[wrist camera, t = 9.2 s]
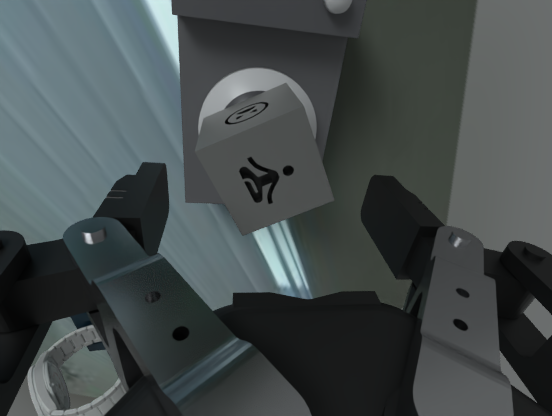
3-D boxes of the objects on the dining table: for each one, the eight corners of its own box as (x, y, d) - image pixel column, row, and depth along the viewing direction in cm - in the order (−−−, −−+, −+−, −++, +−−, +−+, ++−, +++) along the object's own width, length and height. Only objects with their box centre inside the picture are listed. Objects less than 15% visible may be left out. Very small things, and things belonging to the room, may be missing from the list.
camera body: (187, -47, 18) (165, -76, 12) (334, -23, 20) (379, -39, 14) (193, 171, 25) (181, 220, 19) (300, 176, 27) (320, 224, 21)
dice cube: (203, 118, 17) (194, 151, 13) (286, 82, 17) (303, 105, 13) (240, 189, 20) (242, 235, 16) (312, 160, 20) (334, 200, 16)
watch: (62, 290, 31) (-12, 411, 21) (146, 283, 31) (110, 396, 22) (81, 327, 34) (24, 447, 24) (158, 319, 34) (131, 432, 25)
